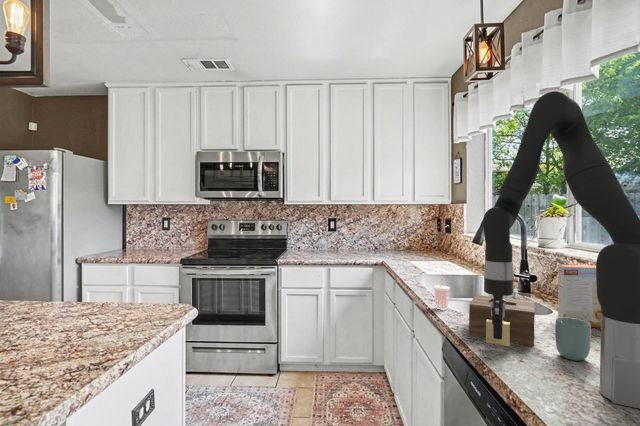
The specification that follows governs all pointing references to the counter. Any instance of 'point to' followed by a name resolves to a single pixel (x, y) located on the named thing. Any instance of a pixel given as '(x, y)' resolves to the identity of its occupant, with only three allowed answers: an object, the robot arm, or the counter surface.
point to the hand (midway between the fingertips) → (497, 337)
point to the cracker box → (578, 293)
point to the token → (505, 334)
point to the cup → (573, 338)
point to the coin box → (515, 313)
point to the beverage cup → (441, 295)
